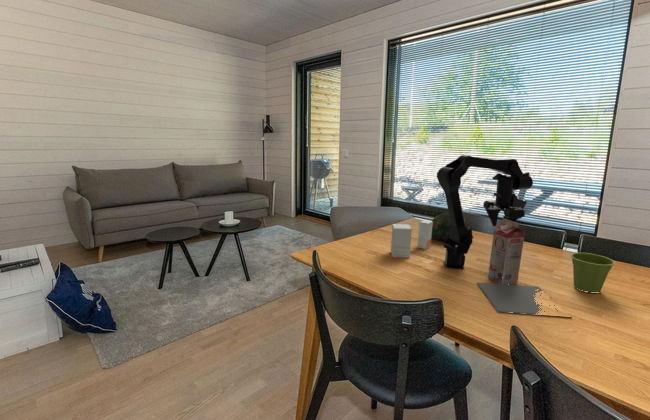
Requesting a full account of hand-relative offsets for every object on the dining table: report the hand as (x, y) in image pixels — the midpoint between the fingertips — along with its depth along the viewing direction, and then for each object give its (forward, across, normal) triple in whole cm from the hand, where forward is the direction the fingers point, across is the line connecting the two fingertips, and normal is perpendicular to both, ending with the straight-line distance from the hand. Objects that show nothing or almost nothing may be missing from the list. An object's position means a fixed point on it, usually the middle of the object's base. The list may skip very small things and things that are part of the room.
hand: (501, 229), depth 138 cm
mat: (+13, -32, +12) cm, 37 cm away
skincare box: (+13, +20, +24) cm, 34 cm away
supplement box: (+12, +10, +38) cm, 41 cm away
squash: (+14, +32, +9) cm, 36 cm away
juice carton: (+14, -18, +9) cm, 24 cm away
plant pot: (+15, -26, -15) cm, 34 cm away
